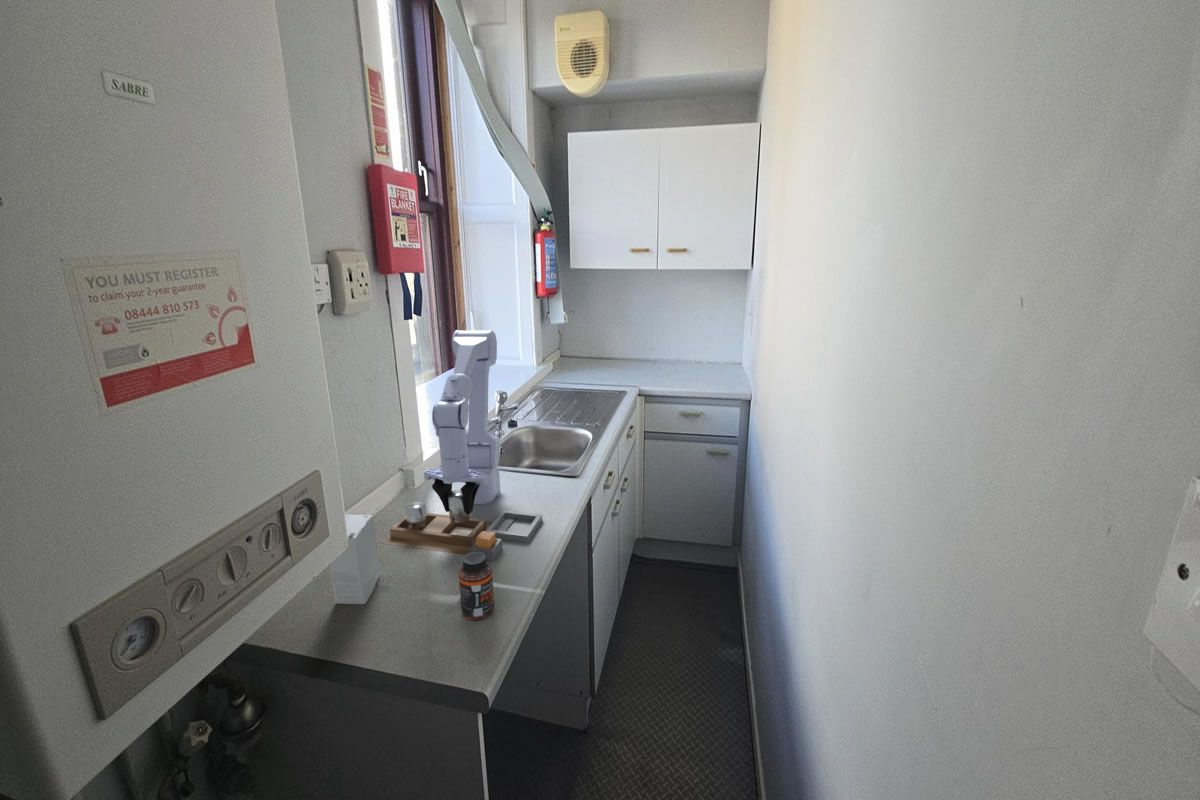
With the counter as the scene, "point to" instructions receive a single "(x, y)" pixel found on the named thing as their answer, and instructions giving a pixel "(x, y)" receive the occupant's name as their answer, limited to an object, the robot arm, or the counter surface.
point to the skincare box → (356, 562)
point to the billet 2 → (457, 507)
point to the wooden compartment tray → (438, 534)
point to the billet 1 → (416, 515)
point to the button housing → (489, 550)
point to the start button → (485, 540)
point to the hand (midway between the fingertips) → (459, 510)
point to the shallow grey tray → (516, 526)
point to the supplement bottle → (476, 587)
